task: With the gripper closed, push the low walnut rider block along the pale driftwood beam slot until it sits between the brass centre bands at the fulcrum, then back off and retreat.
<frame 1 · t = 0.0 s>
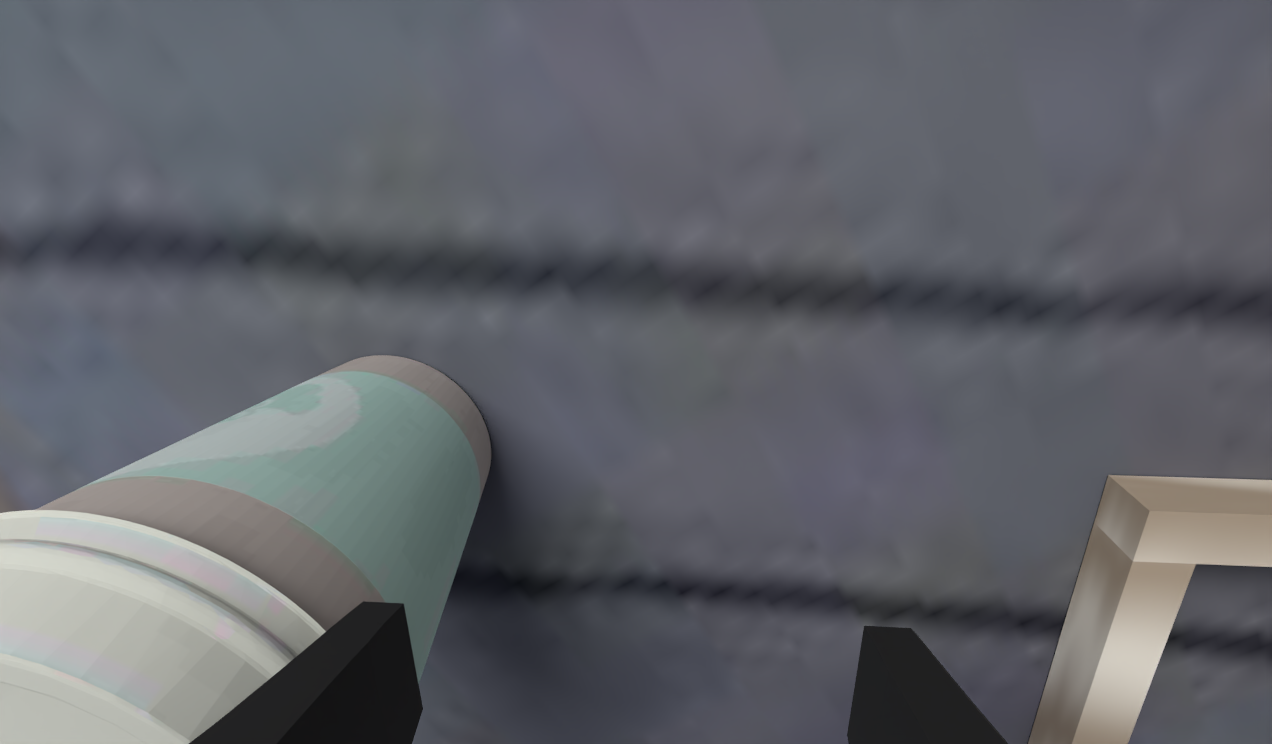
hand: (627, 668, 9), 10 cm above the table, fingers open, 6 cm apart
coffee cup: (401, 439, 20), on the table, touching gripper
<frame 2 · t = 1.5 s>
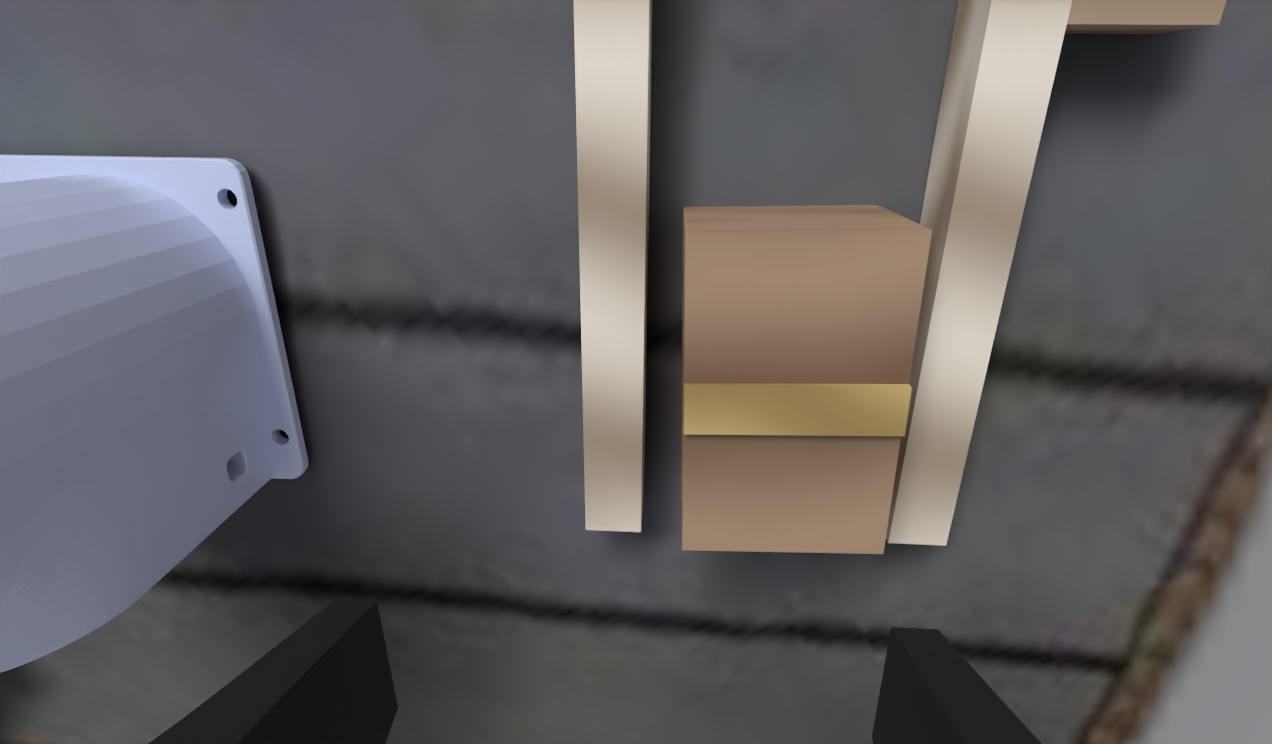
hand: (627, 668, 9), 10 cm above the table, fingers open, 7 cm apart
rider block: (769, 348, 18), on the table
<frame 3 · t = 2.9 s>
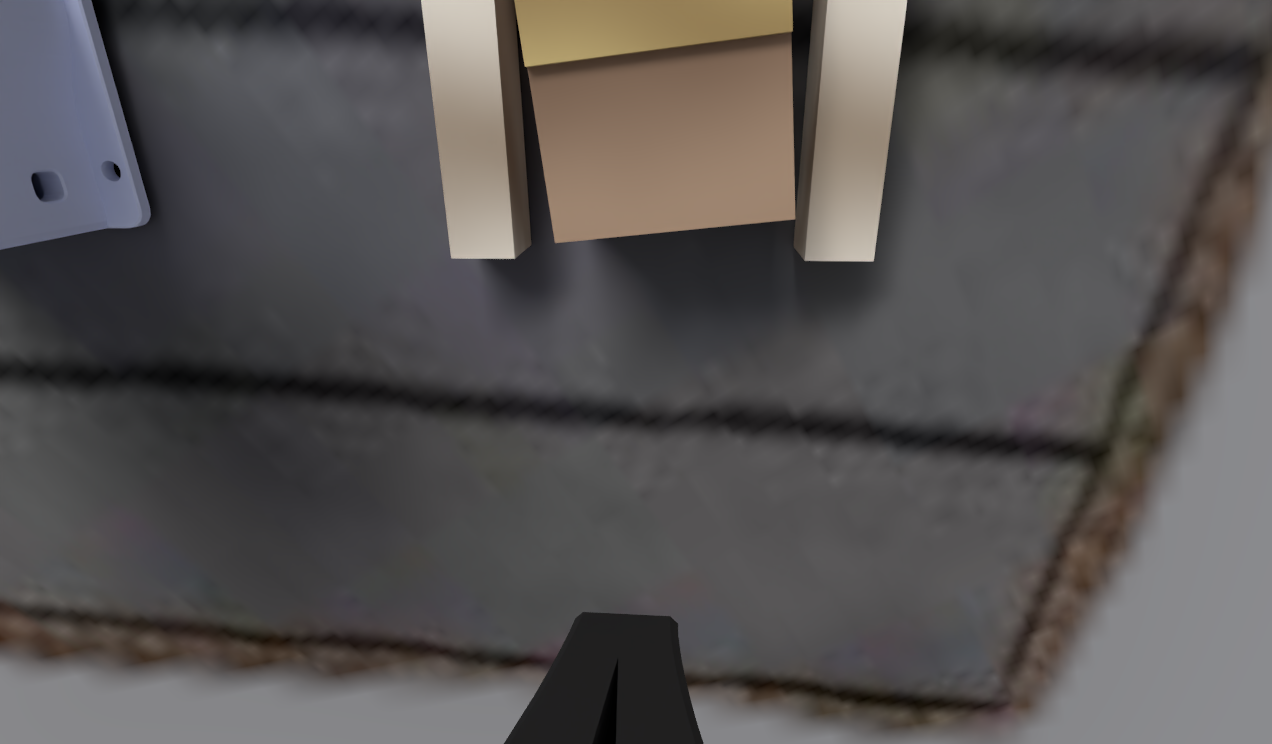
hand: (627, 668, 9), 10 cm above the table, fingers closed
rider block: (662, 36, 16), on the table
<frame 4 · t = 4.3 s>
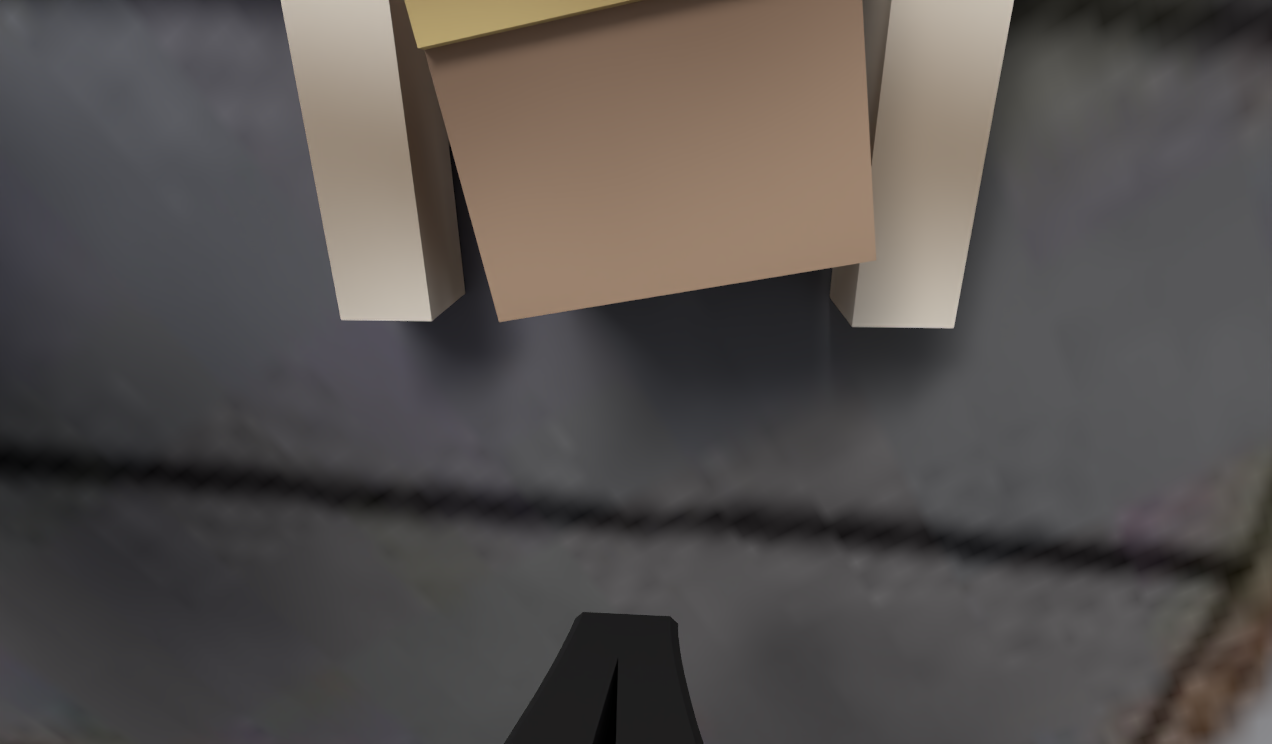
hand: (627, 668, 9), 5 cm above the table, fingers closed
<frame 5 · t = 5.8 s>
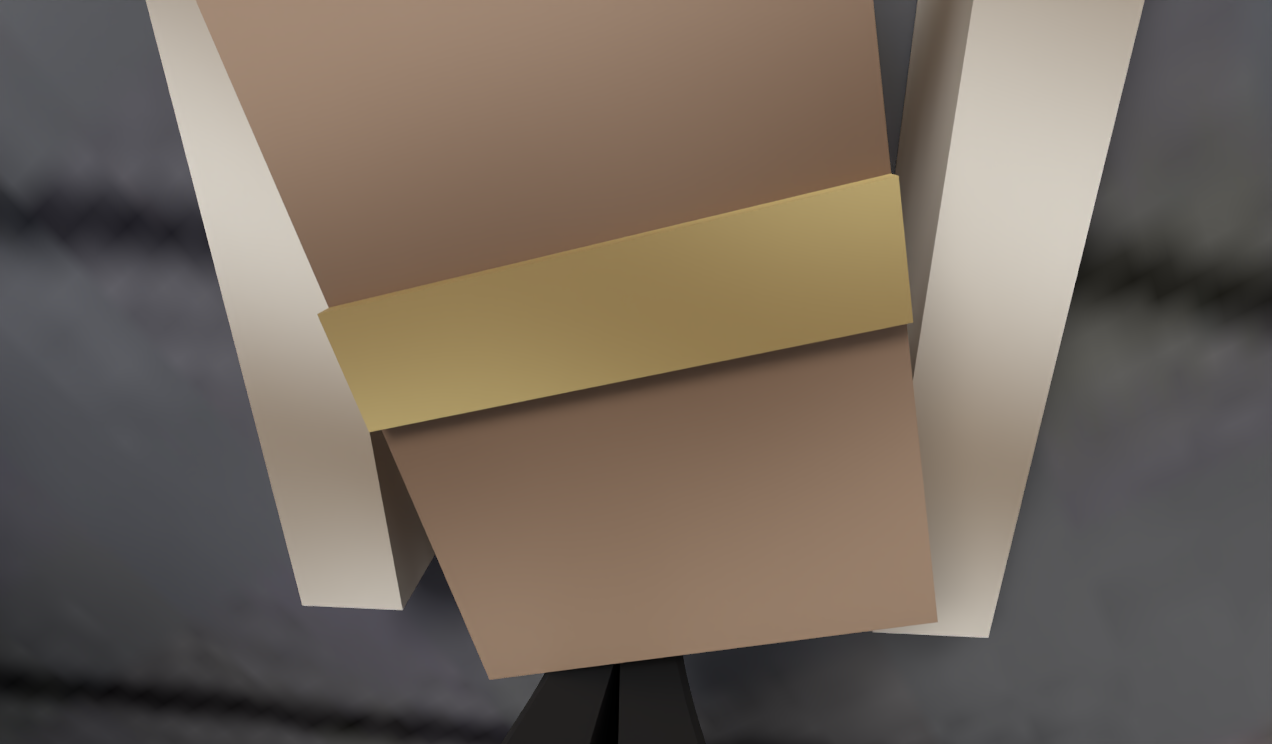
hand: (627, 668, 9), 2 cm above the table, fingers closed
rider block: (640, 232, 9), on the table, touching gripper
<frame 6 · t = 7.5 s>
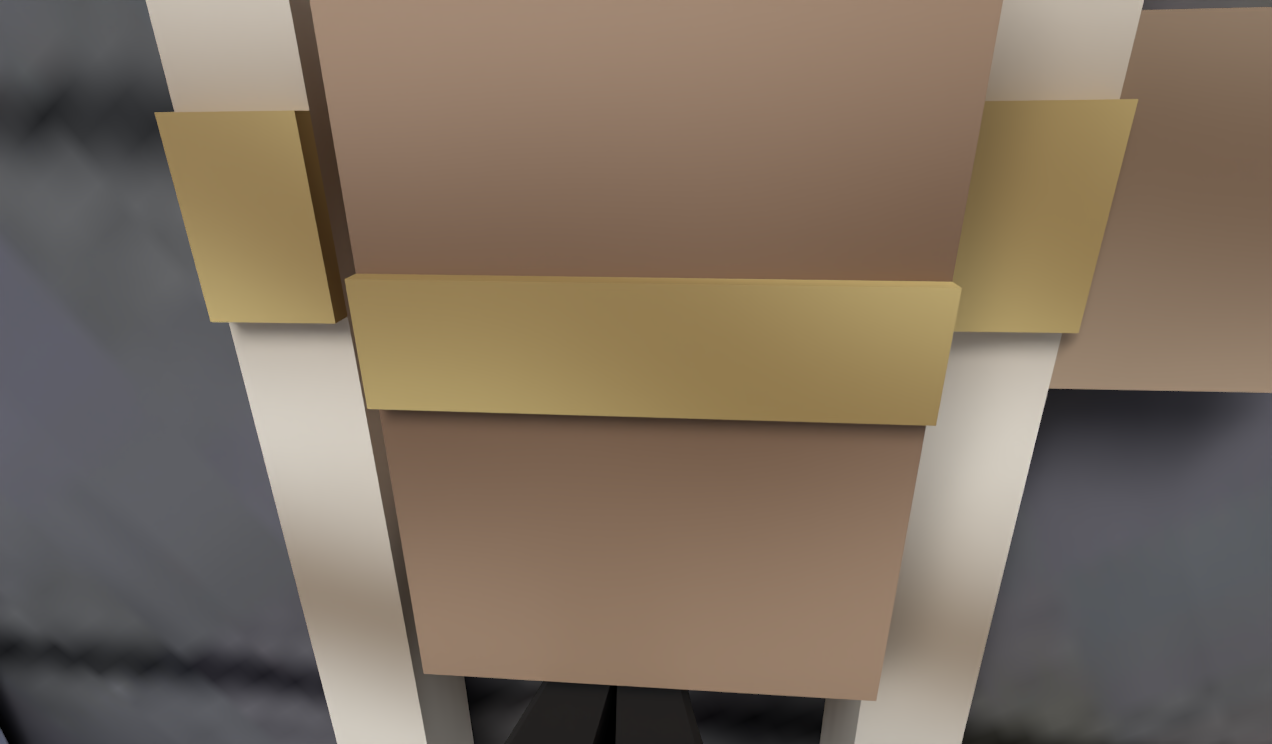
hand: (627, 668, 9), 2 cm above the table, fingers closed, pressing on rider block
beam slot: (635, 199, 9), on the table
rider block: (662, 252, 9), on the table, touching gripper
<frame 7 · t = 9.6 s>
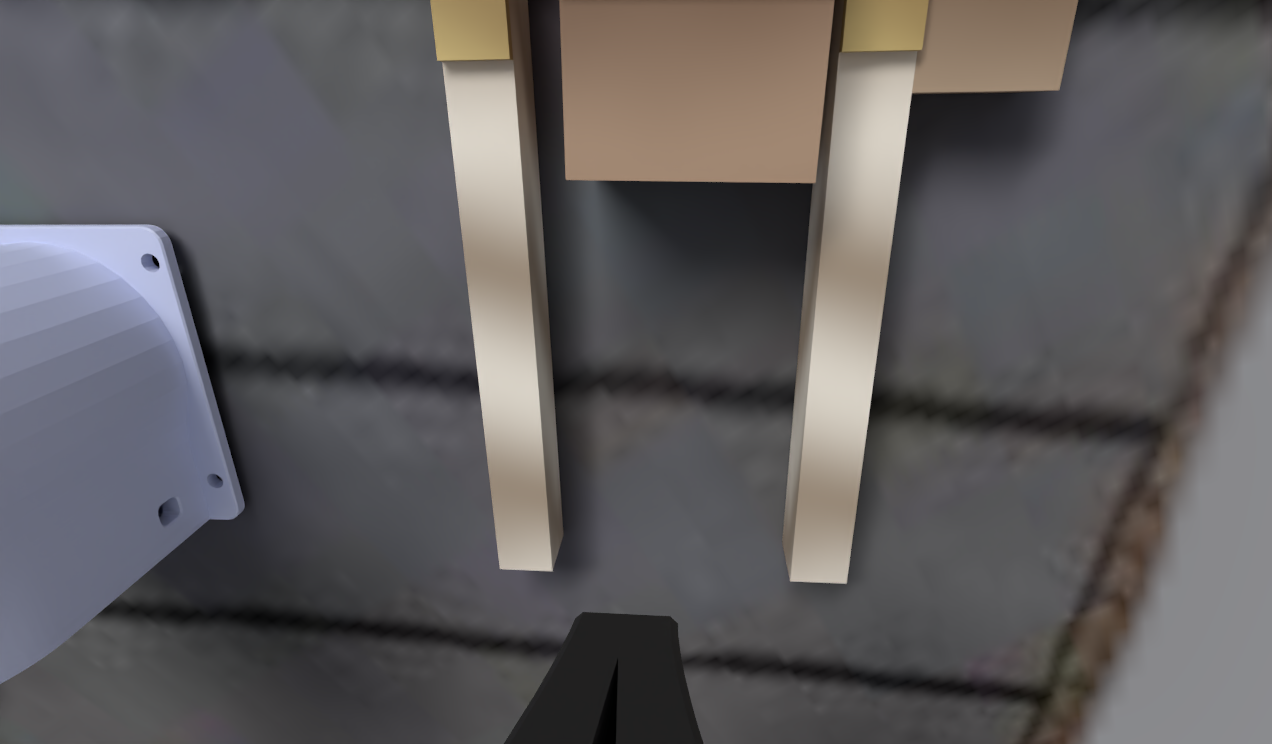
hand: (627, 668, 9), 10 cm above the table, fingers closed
beam slot: (675, 5, 15), on the table
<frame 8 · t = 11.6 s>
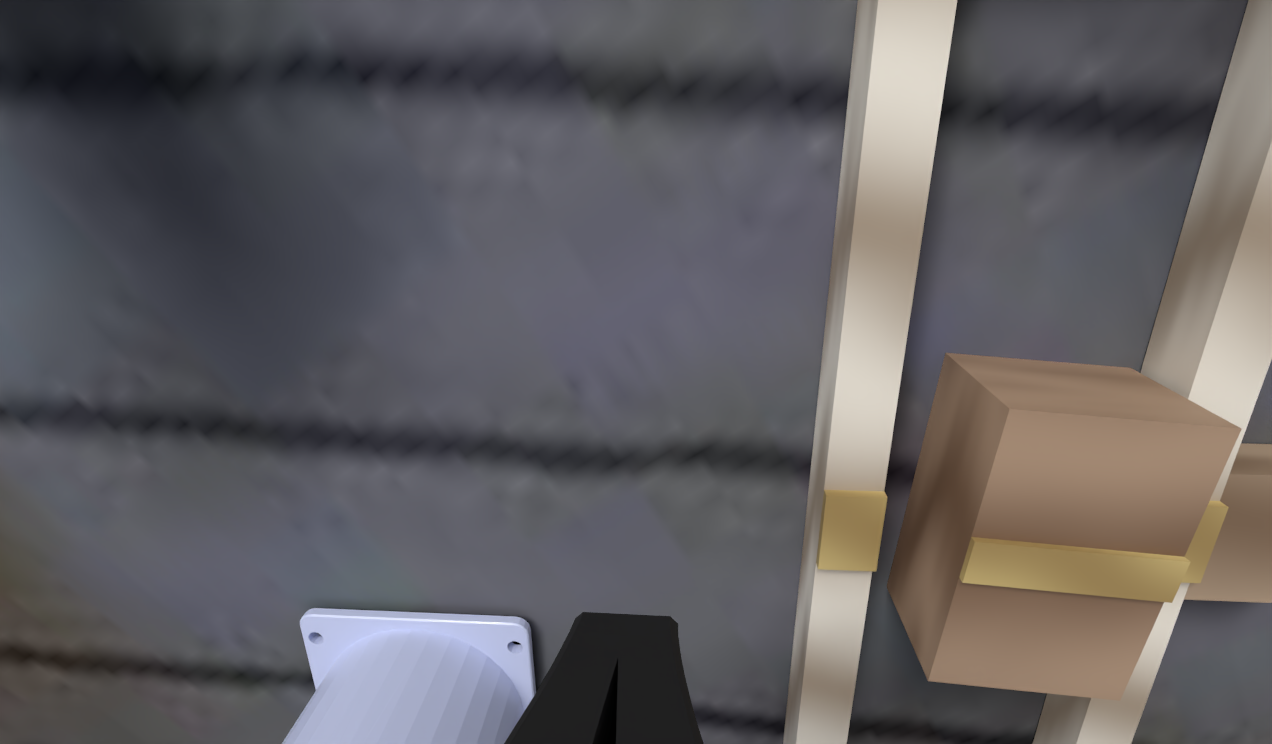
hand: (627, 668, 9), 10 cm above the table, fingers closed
beam slot: (981, 497, 19), on the table
rider block: (995, 482, 19), on the table
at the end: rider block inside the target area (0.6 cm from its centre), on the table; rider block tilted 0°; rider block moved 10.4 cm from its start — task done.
